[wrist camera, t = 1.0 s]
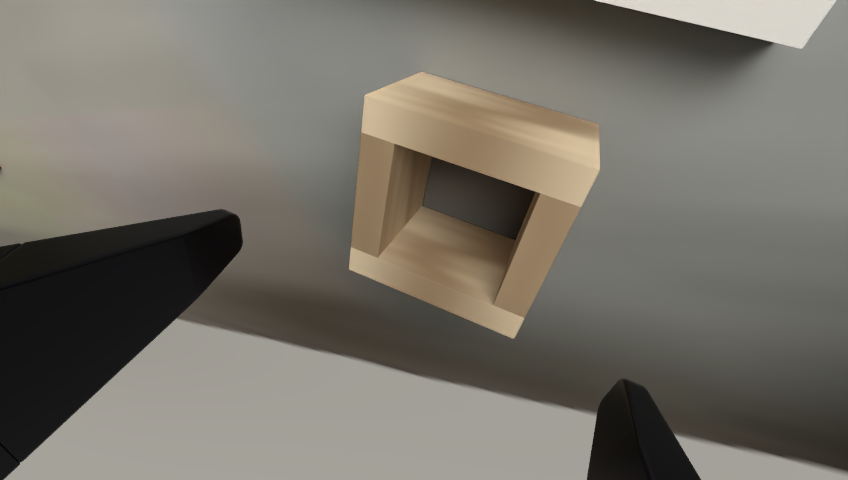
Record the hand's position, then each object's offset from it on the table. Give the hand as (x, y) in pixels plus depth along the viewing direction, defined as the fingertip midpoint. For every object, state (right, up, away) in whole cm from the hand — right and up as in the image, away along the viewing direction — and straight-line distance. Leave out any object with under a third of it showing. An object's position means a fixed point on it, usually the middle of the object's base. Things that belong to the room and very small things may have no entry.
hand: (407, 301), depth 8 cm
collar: (+2, +4, +6) cm, 7 cm away
